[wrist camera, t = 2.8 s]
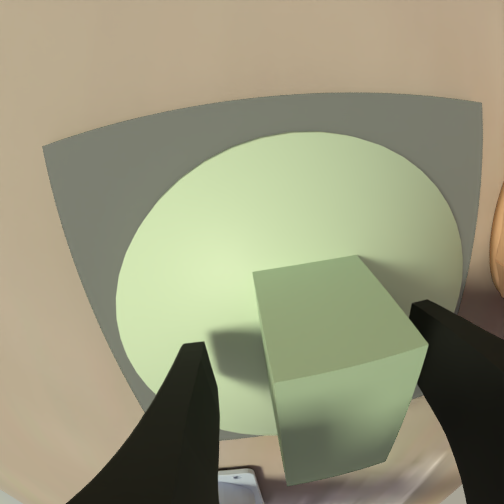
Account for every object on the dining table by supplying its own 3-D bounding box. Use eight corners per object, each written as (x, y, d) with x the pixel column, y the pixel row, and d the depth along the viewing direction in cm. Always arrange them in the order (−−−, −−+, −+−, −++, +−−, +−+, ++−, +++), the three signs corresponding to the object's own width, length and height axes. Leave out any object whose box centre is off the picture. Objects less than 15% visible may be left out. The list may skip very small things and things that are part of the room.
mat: (164, 437, 14) (164, 443, 13) (48, 144, 8) (42, 146, 7) (427, 387, 14) (430, 392, 14) (474, 102, 8) (481, 102, 8)
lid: (178, 433, 13) (174, 523, 9) (75, 172, 8) (-34, 236, 3) (420, 385, 13) (461, 457, 9) (461, 127, 8) (578, 160, 4)
